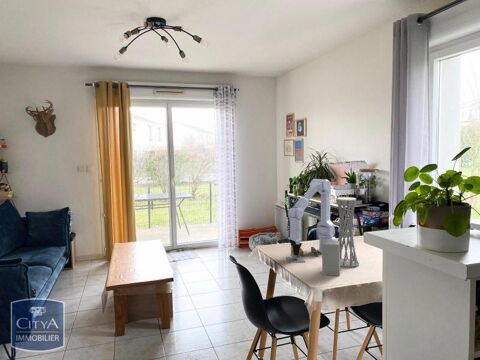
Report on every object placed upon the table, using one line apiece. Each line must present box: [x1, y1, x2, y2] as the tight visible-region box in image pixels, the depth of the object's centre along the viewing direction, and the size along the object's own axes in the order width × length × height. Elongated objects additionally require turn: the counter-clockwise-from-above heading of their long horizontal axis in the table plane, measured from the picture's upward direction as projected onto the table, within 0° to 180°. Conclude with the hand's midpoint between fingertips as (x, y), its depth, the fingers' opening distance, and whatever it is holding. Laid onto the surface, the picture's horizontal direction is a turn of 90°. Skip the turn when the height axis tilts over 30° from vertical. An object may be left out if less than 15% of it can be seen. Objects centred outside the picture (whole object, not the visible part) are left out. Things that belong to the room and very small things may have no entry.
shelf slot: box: [301, 246, 319, 258], centre depth 205 cm, size 10×10×3 cm
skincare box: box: [321, 240, 341, 277], centre depth 172 cm, size 8×7×16 cm
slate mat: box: [285, 256, 306, 264], centre depth 195 cm, size 9×9×1 cm
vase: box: [336, 196, 360, 269], centre depth 185 cm, size 14×13×35 cm
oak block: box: [290, 244, 302, 258], centre depth 194 cm, size 4×4×6 cm
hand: (295, 253), depth 194 cm, fingers closed on oak block, 4 cm apart
